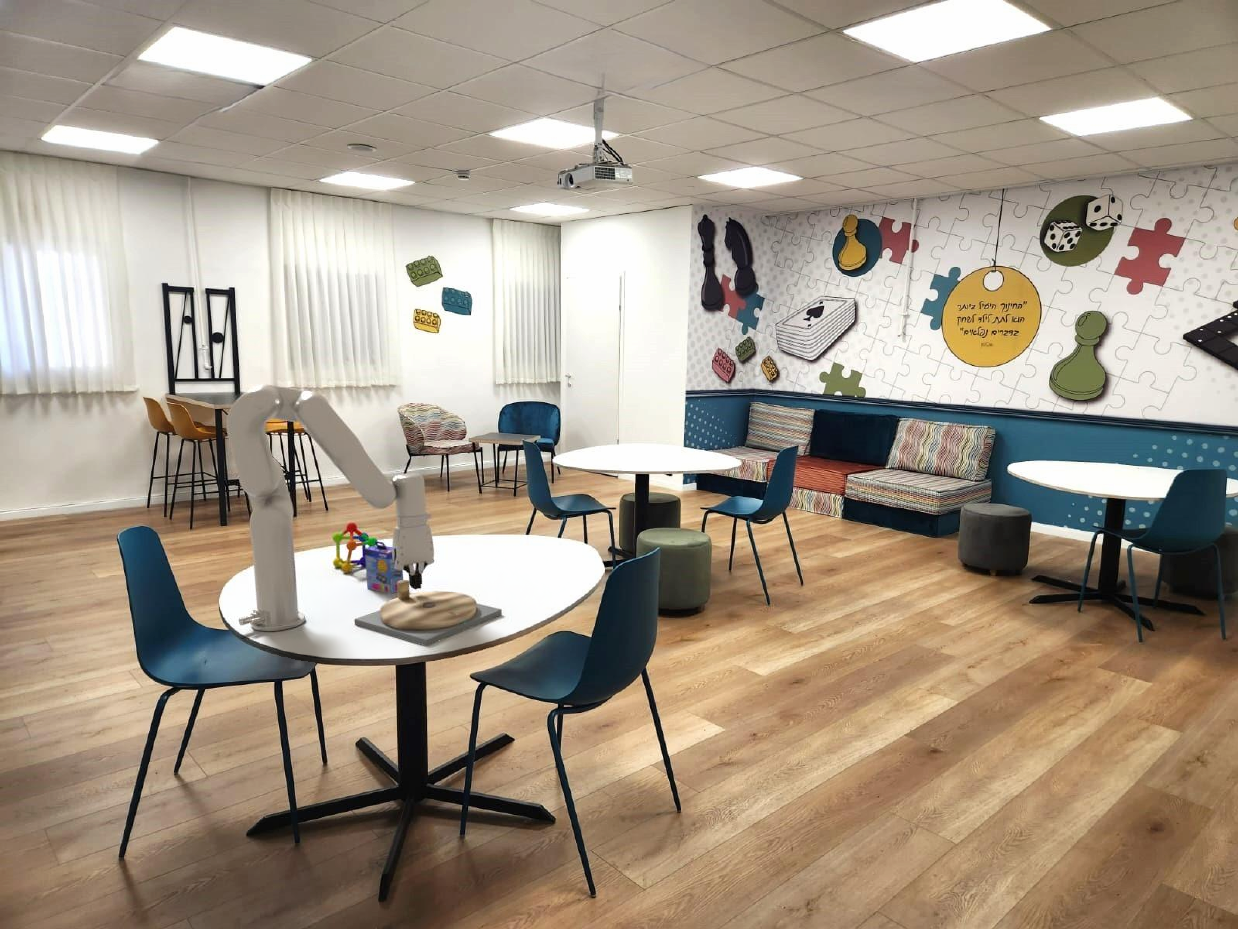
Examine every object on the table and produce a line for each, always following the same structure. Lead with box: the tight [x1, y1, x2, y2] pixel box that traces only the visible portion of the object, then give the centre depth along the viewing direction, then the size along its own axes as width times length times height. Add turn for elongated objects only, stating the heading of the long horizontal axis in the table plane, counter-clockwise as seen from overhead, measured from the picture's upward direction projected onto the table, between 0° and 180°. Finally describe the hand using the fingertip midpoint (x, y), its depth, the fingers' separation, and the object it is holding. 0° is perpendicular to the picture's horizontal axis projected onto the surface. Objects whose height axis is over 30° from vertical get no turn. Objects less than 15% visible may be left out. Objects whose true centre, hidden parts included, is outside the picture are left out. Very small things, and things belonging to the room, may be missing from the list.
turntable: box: [379, 579, 477, 630], centre depth 208 cm, size 24×24×6 cm
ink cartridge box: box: [365, 540, 404, 595], centre depth 233 cm, size 10×6×14 cm, turn 59°
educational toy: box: [332, 522, 378, 574], centre depth 256 cm, size 16×13×15 cm
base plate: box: [354, 602, 503, 647], centre depth 209 cm, size 26×26×2 cm
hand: (416, 587), depth 217 cm, fingers closed
